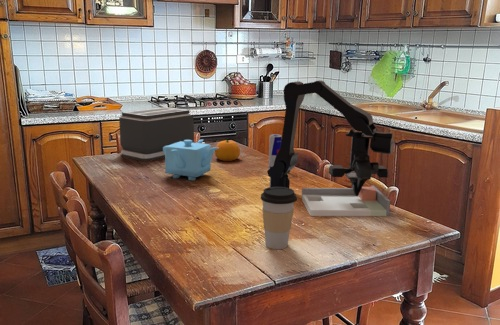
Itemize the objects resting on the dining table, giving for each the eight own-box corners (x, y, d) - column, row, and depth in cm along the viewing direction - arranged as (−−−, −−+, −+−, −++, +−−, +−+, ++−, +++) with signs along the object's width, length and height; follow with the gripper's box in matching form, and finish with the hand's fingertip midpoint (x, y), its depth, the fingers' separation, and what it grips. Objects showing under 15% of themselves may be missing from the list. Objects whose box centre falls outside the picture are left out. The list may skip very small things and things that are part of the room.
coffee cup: (257, 238, 131) (258, 185, 127) (291, 237, 131) (293, 185, 128) (261, 252, 121) (262, 196, 118) (297, 252, 122) (300, 196, 119)
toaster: (198, 150, 240) (198, 109, 235) (146, 162, 212) (144, 116, 208) (171, 144, 251) (170, 106, 246) (118, 155, 223) (116, 112, 218)
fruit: (239, 162, 215) (239, 141, 213) (213, 162, 215) (213, 140, 213) (240, 156, 226) (240, 136, 224) (215, 156, 226) (215, 135, 224)
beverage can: (279, 171, 202) (280, 136, 198) (267, 170, 203) (268, 135, 199) (281, 168, 206) (282, 134, 203) (269, 167, 207) (270, 133, 204)
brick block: (362, 200, 159) (363, 190, 158) (358, 196, 163) (359, 186, 162) (375, 200, 159) (376, 190, 158) (371, 196, 163) (372, 186, 163)
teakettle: (160, 172, 196) (159, 137, 192) (204, 168, 203) (204, 134, 199) (172, 184, 179) (171, 146, 175) (219, 180, 186) (219, 143, 183)
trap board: (310, 216, 149) (311, 200, 147) (301, 199, 165) (302, 185, 164) (389, 216, 150) (390, 201, 149) (372, 199, 167) (373, 185, 165)
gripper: (337, 155, 148) (334, 203, 152) (396, 156, 149) (391, 203, 153) (329, 148, 159) (327, 193, 163) (384, 148, 160) (380, 193, 164)
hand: (356, 195), depth 160 cm, fingers closed
